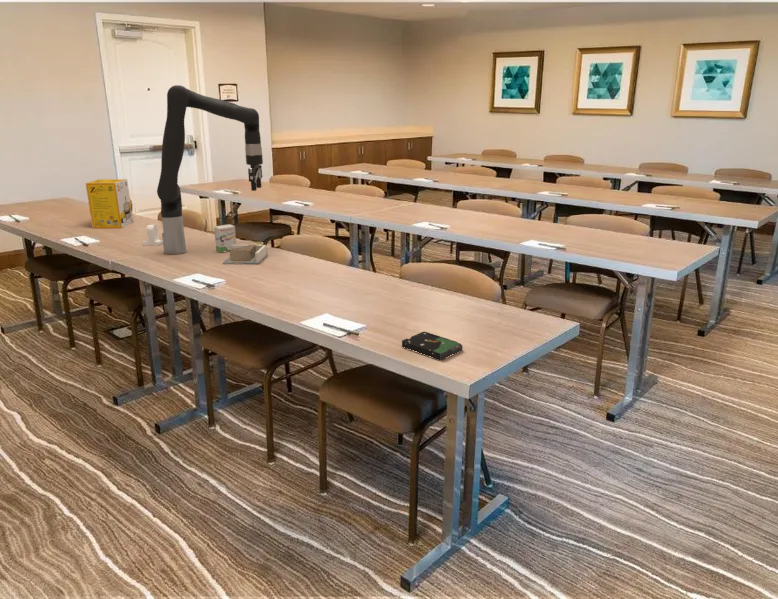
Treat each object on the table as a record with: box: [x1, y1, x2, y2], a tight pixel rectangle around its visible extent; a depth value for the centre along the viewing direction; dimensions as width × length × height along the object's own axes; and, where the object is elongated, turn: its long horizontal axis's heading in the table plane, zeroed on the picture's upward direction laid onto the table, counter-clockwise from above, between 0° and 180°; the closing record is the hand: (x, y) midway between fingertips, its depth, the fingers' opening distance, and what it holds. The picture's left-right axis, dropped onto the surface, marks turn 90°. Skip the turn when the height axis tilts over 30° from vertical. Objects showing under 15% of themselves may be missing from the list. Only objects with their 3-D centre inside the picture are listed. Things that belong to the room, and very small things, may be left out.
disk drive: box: [401, 331, 464, 361], centre depth 181 cm, size 10×3×15 cm
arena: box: [222, 244, 268, 265], centre depth 278 cm, size 16×15×5 cm
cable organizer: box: [142, 224, 163, 246], centre depth 307 cm, size 5×10×10 cm, turn 85°
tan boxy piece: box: [229, 244, 257, 261], centre depth 278 cm, size 9×10×5 cm
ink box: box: [213, 223, 237, 253], centre depth 294 cm, size 8×5×12 cm, turn 129°
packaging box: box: [85, 178, 134, 229], centre depth 350 cm, size 16×16×25 cm
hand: (256, 189), depth 291 cm, fingers open, 8 cm apart
